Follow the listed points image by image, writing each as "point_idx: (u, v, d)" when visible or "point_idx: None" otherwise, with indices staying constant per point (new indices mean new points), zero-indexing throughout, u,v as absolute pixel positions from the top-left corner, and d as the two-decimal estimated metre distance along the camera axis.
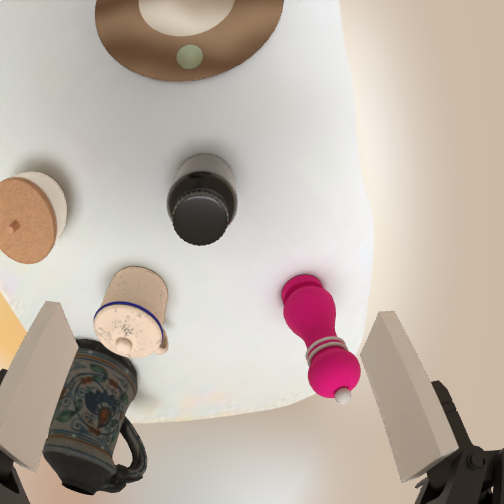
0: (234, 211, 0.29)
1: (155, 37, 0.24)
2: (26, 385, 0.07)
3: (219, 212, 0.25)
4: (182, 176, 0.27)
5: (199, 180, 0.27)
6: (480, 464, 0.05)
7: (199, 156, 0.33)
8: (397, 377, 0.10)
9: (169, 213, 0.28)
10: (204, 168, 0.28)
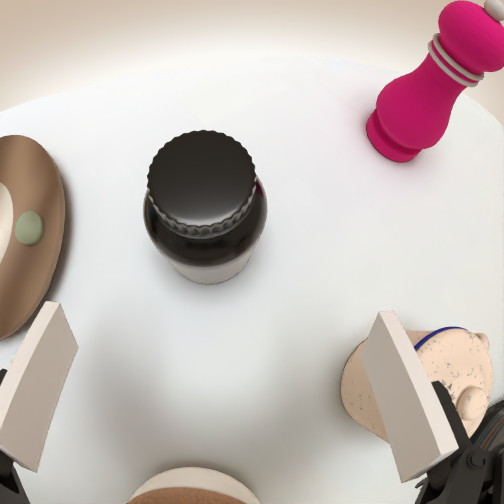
0: None
1: (3, 270, 0.19)
2: (26, 385, 0.07)
3: (191, 140, 0.13)
4: (147, 230, 0.16)
5: None
6: (480, 464, 0.05)
7: None
8: (397, 377, 0.10)
9: (205, 260, 0.15)
10: None
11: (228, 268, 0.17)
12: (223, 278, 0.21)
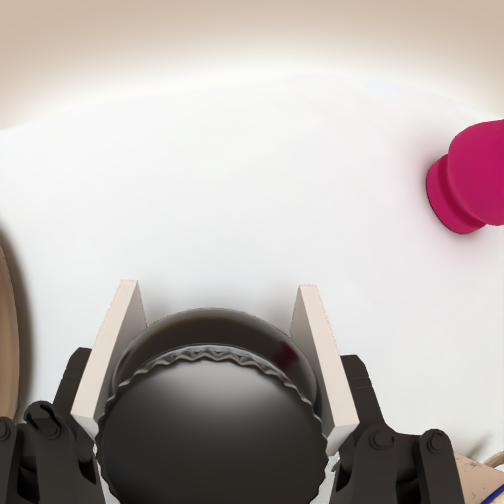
0: (240, 320, 0.09)
1: None
2: (115, 359, 0.09)
3: (177, 388, 0.05)
4: None
5: None
6: (387, 443, 0.07)
7: None
8: (308, 347, 0.11)
9: None
10: None
11: None
12: None
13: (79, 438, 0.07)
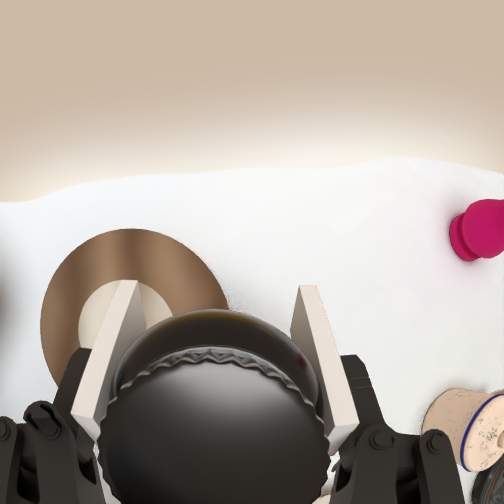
0: (242, 322, 0.08)
1: None
2: (115, 359, 0.09)
3: (179, 391, 0.05)
4: None
5: None
6: (387, 443, 0.07)
7: None
8: (308, 347, 0.11)
9: None
10: None
11: None
12: None
13: (79, 438, 0.07)
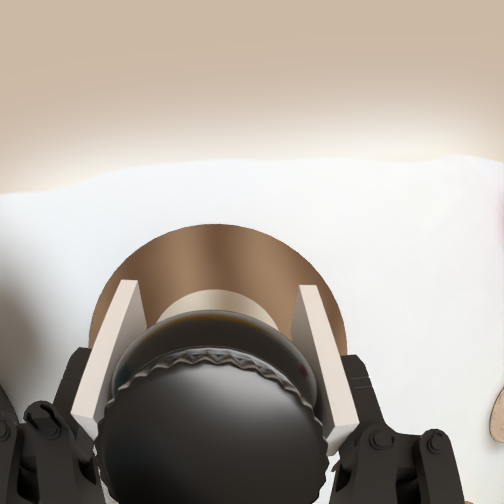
0: (241, 322, 0.08)
1: None
2: (115, 359, 0.09)
3: (176, 392, 0.05)
4: None
5: None
6: (387, 443, 0.07)
7: None
8: (308, 347, 0.11)
9: None
10: None
11: None
12: None
13: (79, 438, 0.07)
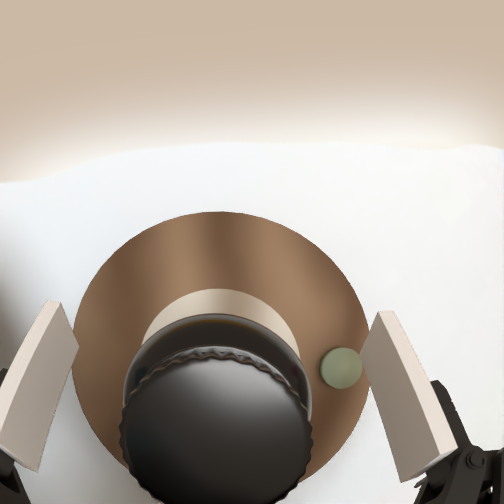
0: (240, 324, 0.10)
1: None
2: (27, 385, 0.07)
3: (189, 381, 0.06)
4: None
5: None
6: (479, 464, 0.05)
7: None
8: (396, 377, 0.10)
9: None
10: None
11: None
12: None
13: None
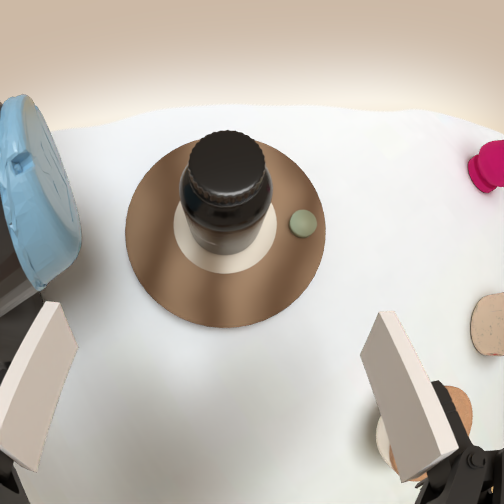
0: None
1: (272, 258, 0.29)
2: (26, 385, 0.07)
3: (219, 137, 0.18)
4: (182, 204, 0.21)
5: (186, 177, 0.21)
6: (480, 464, 0.05)
7: None
8: (397, 377, 0.10)
9: (227, 225, 0.20)
10: None
11: (243, 235, 0.23)
12: (237, 248, 0.26)
13: None
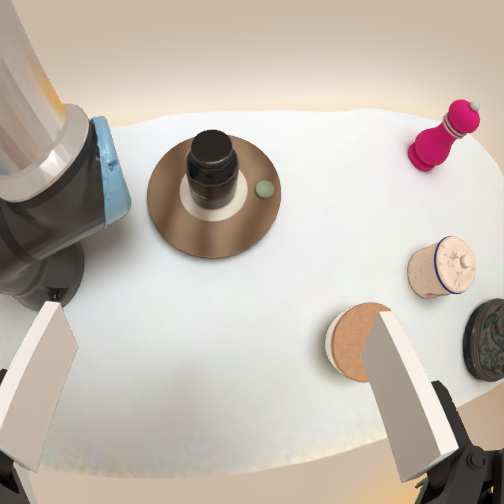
0: None
1: (244, 211, 0.44)
2: (26, 385, 0.07)
3: (207, 133, 0.33)
4: (186, 171, 0.36)
5: (189, 156, 0.35)
6: (480, 464, 0.05)
7: None
8: (397, 377, 0.10)
9: (212, 182, 0.35)
10: None
11: (222, 190, 0.38)
12: (220, 202, 0.41)
13: None
